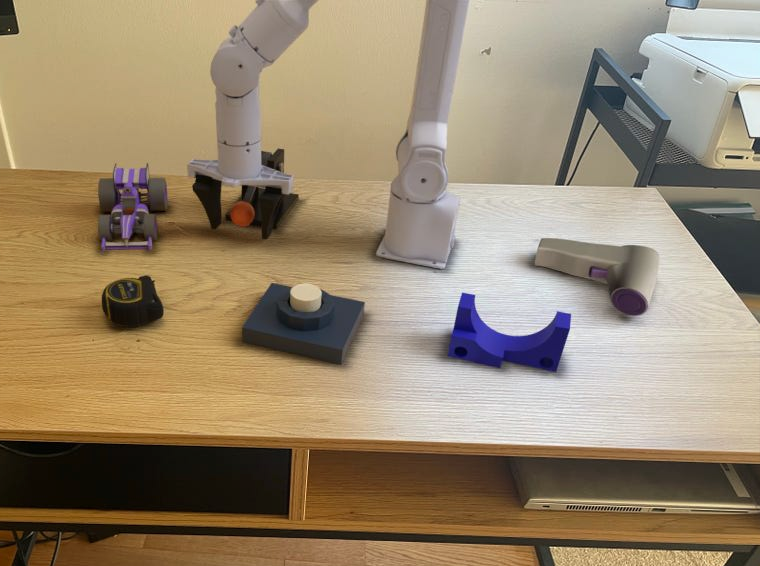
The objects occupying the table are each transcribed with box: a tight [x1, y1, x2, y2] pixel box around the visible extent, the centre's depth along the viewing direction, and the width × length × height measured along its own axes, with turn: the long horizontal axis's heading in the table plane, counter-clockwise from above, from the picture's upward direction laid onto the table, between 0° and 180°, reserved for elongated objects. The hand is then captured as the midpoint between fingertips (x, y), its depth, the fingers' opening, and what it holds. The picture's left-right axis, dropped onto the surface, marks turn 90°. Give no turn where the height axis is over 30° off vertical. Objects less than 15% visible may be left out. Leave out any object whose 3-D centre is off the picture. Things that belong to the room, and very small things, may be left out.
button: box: [290, 282, 322, 312], centre depth 85 cm, size 4×4×2 cm
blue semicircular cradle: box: [447, 292, 572, 373], centre depth 83 cm, size 12×4×6 cm, turn 71°
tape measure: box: [101, 275, 165, 328], centre depth 89 cm, size 7×7×4 cm
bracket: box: [224, 148, 300, 230], centre depth 108 cm, size 10×8×9 cm
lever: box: [230, 150, 273, 227], centre depth 105 cm, size 12×3×3 cm, turn 161°
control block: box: [241, 282, 366, 366], centre depth 87 cm, size 12×10×4 cm
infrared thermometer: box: [534, 237, 661, 317], centre depth 96 cm, size 5×12×15 cm
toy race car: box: [97, 162, 169, 252], centre depth 105 cm, size 10×15×6 cm, turn 4°
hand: (241, 231), depth 104 cm, fingers open, 7 cm apart
